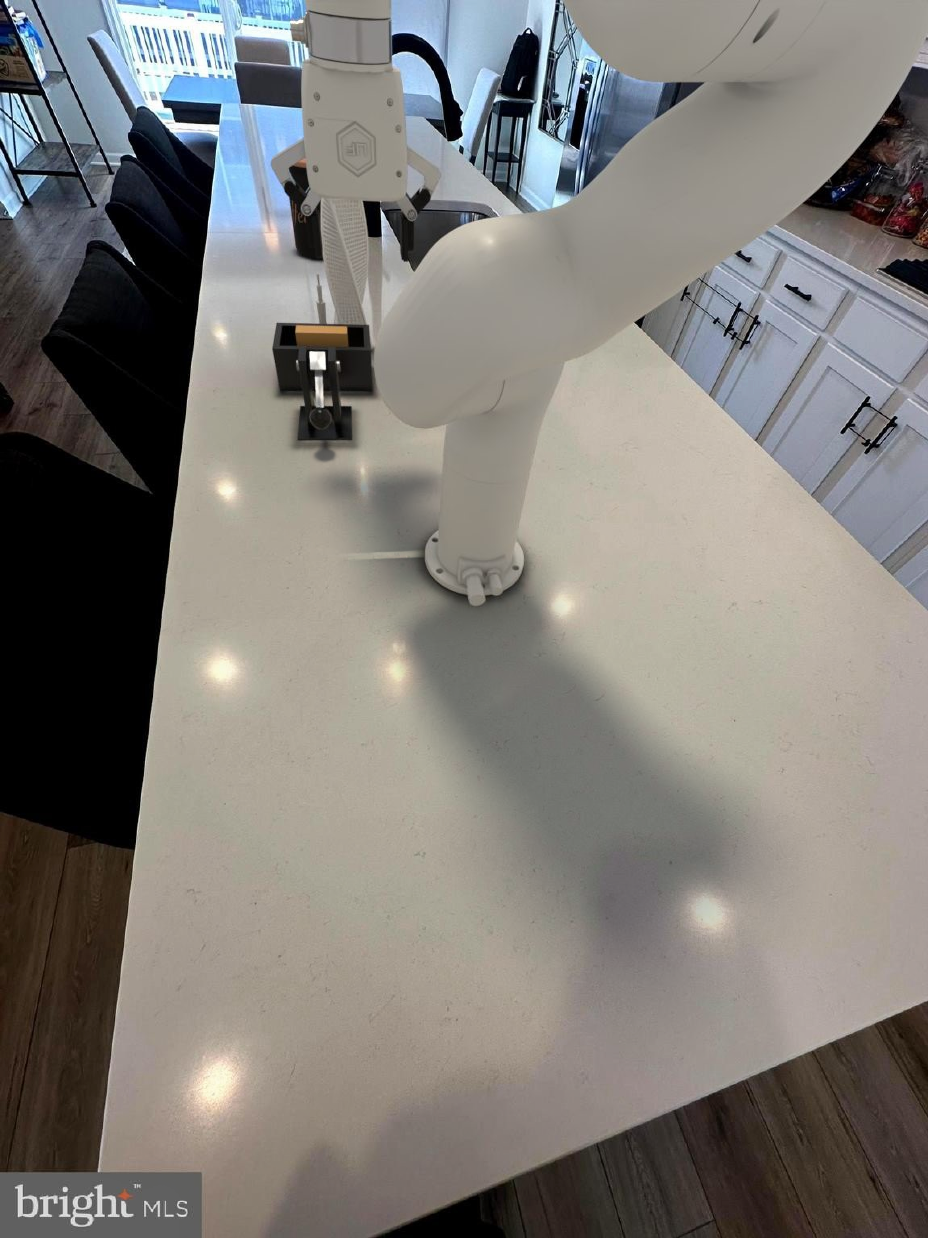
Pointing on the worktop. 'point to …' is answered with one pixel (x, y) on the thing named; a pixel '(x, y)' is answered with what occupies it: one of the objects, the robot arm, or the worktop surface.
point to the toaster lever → (319, 390)
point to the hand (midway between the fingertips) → (362, 255)
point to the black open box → (351, 358)
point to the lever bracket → (339, 414)
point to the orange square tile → (322, 336)
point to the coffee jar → (298, 217)
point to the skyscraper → (344, 260)
